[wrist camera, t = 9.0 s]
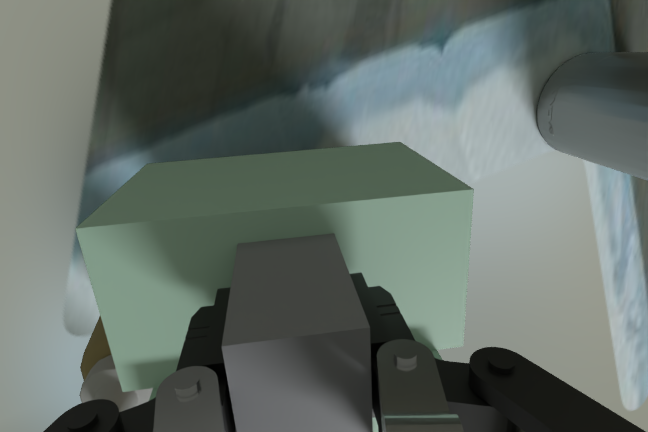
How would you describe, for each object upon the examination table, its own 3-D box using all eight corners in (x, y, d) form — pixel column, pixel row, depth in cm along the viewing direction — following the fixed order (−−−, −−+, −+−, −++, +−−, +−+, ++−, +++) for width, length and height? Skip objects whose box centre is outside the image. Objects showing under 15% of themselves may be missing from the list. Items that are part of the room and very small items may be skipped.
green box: (400, 141, 21) (582, 259, 9) (399, 326, 25) (526, 584, 13) (147, 163, 20) (-41, 332, 8) (187, 353, 24) (104, 665, 12)
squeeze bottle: (120, 320, 42) (23, 495, 25) (121, 244, 39) (14, 385, 22) (205, 325, 43) (167, 495, 27) (211, 253, 41) (174, 391, 24)
